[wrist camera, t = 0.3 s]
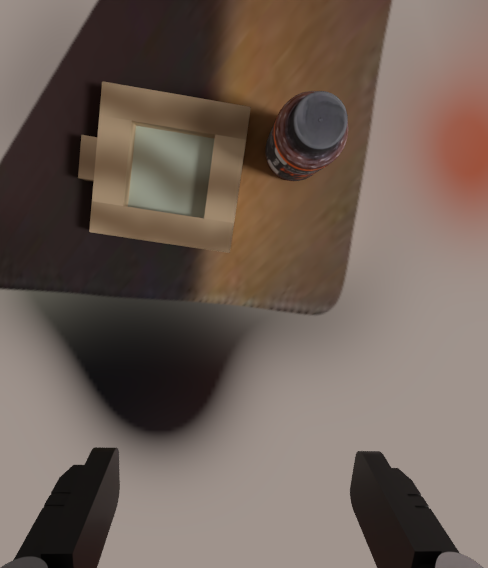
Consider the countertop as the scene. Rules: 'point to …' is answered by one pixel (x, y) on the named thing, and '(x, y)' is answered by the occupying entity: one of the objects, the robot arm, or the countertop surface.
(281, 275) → the countertop surface
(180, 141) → the holder
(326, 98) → the supplement bottle
